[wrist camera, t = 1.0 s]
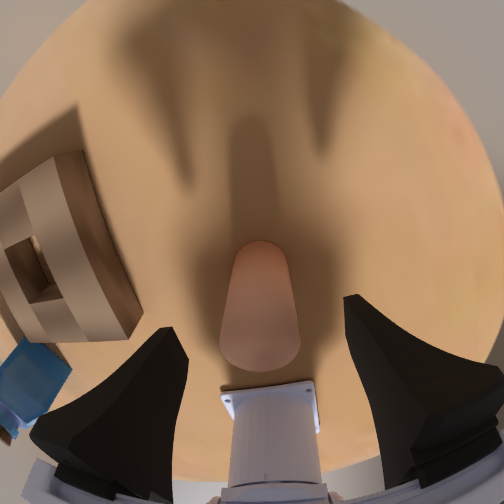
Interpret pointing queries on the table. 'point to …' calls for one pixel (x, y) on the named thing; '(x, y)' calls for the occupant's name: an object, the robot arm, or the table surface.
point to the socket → (62, 258)
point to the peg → (260, 311)
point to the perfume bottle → (28, 386)
